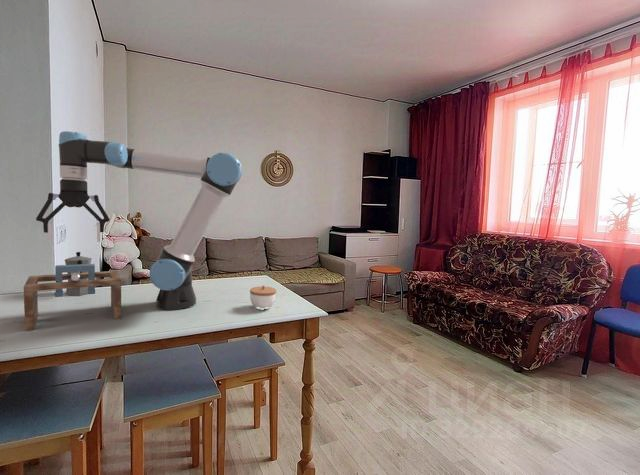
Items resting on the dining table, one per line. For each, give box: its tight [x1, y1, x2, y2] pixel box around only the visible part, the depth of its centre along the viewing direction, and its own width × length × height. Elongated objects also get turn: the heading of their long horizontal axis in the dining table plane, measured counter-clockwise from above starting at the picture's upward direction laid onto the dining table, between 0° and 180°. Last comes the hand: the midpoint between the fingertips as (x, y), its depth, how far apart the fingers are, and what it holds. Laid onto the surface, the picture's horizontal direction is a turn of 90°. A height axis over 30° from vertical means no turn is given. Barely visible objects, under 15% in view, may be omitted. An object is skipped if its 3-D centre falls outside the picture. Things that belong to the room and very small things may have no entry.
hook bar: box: [71, 272, 80, 283], centre depth 119 cm, size 2×15×2 cm, turn 35°
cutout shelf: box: [23, 270, 122, 332], centre depth 120 cm, size 26×16×14 cm, turn 125°
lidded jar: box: [249, 285, 277, 308], centre depth 141 cm, size 11×11×9 cm
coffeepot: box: [64, 251, 92, 297], centre depth 146 cm, size 15×9×18 cm, turn 39°
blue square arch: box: [54, 263, 96, 298], centre depth 119 cm, size 11×5×10 cm, turn 125°
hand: (75, 242), depth 118 cm, fingers open, 13 cm apart
